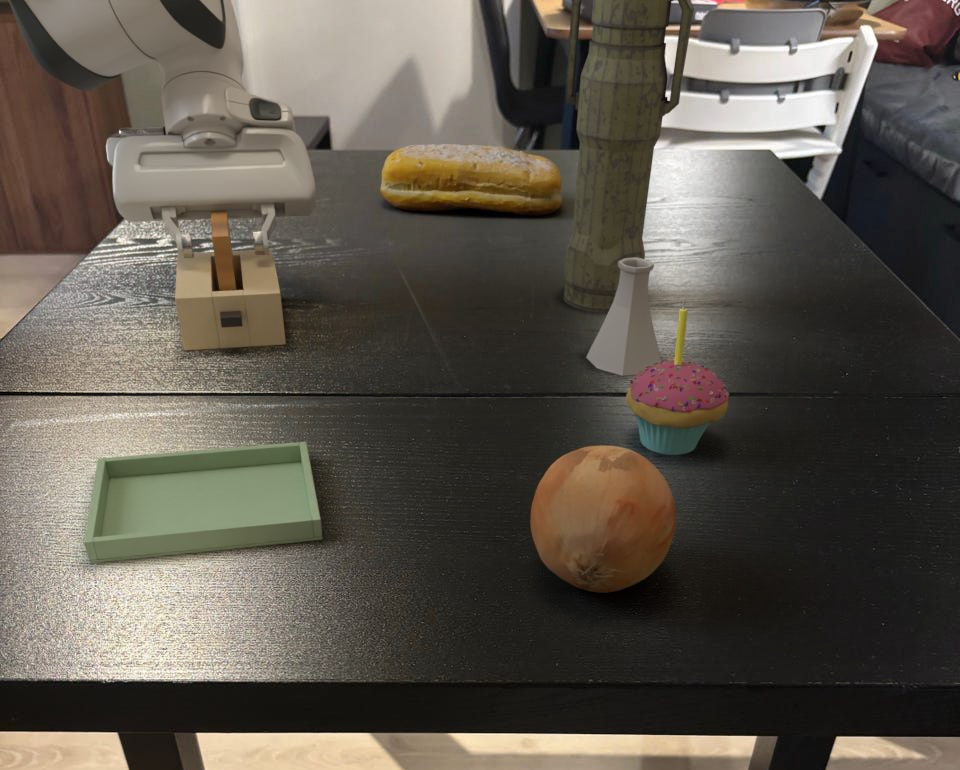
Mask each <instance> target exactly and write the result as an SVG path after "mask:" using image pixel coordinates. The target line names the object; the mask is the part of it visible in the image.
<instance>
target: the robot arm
mask: <svg viewBox="0 0 960 770" xmlns="http://www.w3.org/2000/svg"><path fill="white" fill-rule="evenodd" d="M7 1H8V3H9V5H10V8H11V10H12V13H13V15H14V18H15V21H16V23H17V25H18V28H19V31H20V33H21V36H22V38H23V40H24V42H25V45H26V46H27V48H28V50H29V52H30V53H31V56H32V57H33V59H34V60H35V61H36V63H37V64H38V66H39V67H40V68H41V69H43V70H44V71H45V72H46V73H47V74H49V75H50V76H51V77H53V79H56V80H58V81H60V82H61V83H63V84H65V85H67V86H69V87H72V88H73V89H77V90H79V91H82V92H92V91H94V90H96V89H98V88H99V87H101V86H103V85H105V84H107V83H109V82H111V81H112V80H114V79H116V78H118V77H119V76H121V74H123V73H126V72H129V71H131V70H133V69H136V68H138V67H141V66H143V65H146V64H148V63H151V62H154V61H155V62H156V63H157V66H158V69H159V71H160V73H161V76H162V85H161V89H160V97H161V107H162V114H163V123H164V124H163V125H164V126H158V127H157V126H155V127H153V126H152V127H151V126H150V127H143V128H142V127H141V128H133V127H122V128H119V130H118V132H115V133H113V134H111V135H110V136H109V137H108V138H107V139H106V143H105V150H106V161H107V162H108V165H109V166H110V168H112V174H111V175H112V177H111V179H112V183H111V184H112V197H113V202H114V204H115V207H116V210H117V212H118V214H119V215H120V216H121V217H122V218H123V219H124V220H125V221H127V222H129V223H136V222H137V223H139V222H140V223H141V222H143V223H144V222H163V225H164V230H165V231H166V233H168V235H169V236H170V237H171V238H172V240H173V241H174V242H175V243H176V249H177V254H179V258H194V253H195V252H194V245H193V240H192V236H191V235H192V234H189V233H188V234H187V233H186V234H185V233H182V232H181V230H180V229H179V228H180V223H179V221H196V220H197V221H200V220H211V211H221V210H226V211H227V216H228V220H229V219H254V218H255V219H256V218H261V221H262V226H261V229H260V231H252V238H253V239H252V240H253V247H254V249H253V250H255V255H269V249H270V247H269V246H270V245H269V240H270V238H271V236H272V235H273V232H274V230H275V228H276V227H277V218H280V217H282V218H284V217H306V216H310V215H311V214H312V213H313V211H314V210H315V209H316V207H317V189H316V182H315V177H314V172H313V168H312V167H313V166H312V164H311V160H310V157H309V154H308V150H307V147H306V145H305V142H304V140H303V139H302V138H301V136H300V135H299V134H298V133H296V126H295V118H294V114H293V110H292V108H291V107H290V105H288V104H286V103H283V102H281V101H277V100H272V99H269V98H265V97H262V96H259V95H256V94H253V93H251V92H248V91H247V89H246V87H245V84H244V81H243V74H244V65H245V63H244V62H245V61H244V53H243V45H242V40H241V35H240V30H239V24H238V21H237V17H236V12H235V8H234V5H233V1H232V0H7Z"/></svg>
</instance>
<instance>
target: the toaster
mask: <svg viewBox="0 0 960 770" xmlns="http://www.w3.org/2000/svg"><path fill="white" fill-rule="evenodd" d="M232 252H233V259H234V267H235V274H236V281H237V289H238V290H231V291H220V289H219V282H218V276H217V269H216V262H215V255H214V251H202V252H194V258H179V254H178V253H177V255H176V256H177V257H176V272H175V273H176V274H175V288H174V289H175V290H174V291H175V292H174V302H175V307H176V308H175V309H176V313H177V318H178V324H179V329H180V335H181V341H182V347H183V350H184V352H198V351H212V350H213V351H214V350H229V349H231V350H232V349H244V348H245V349H246V348H261V347H276V346H286V345H287V342H286V341H287V340H286V333H285V324H284V323H285V322H284V314H283V304H282V294H281V289H280V285H279V279H278V274H277V269H276V263H275V257H274V252H273V249H270V248H269V255H255V249H247V250H232Z"/></svg>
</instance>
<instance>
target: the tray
mask: <svg viewBox="0 0 960 770" xmlns="http://www.w3.org/2000/svg"><path fill="white" fill-rule="evenodd" d="M323 539H324V538H323V528H322V518H321V513H320V508H319V503H318V497H317V493H316V486H315V481H314V477H313V471H312V464H311V459H310V454H309V449H308V444H307V441H296V442H282V443H281V442H280V443H271V444H269V443H268V444H260V445H258V444H257V445H249V446H248V445H245V446H235V447H234V446H233V447H222V448H210V449H198V450H197V449H196V450H185V451H172V452H162V453H149V454H137V455H136V454H135V455H126V456H125V455H123V456H112V457H101V458H98V459H97V464H96V470H95V476H94V481H93V486H92V493H91V498H90V505H89V510H88V516H87V522H86V528H85V535H84V540H83V546H84V549H85V552H86V555H87V560H88V563H89V564H96V563H106V562H114V561H115V562H116V561H117V562H118V561H126V560H135V559H145V558H154V557H164V556H174V555H184V554H194V553H195V554H196V553H203V552H205V553H206V552H215V551H225V550H233V549H243V548H253V547H263V546H273V545H281V544H282V545H283V544H291V543H292V544H293V543H302V542H312V541H322V540H323Z"/></svg>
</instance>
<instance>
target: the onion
mask: <svg viewBox="0 0 960 770" xmlns="http://www.w3.org/2000/svg"><path fill="white" fill-rule="evenodd" d="M676 516H677V515H676V505H675V500H674V495H673V493H672V490H671V488H670V486H669V483H668V481H667V479H665V476H664V475H663V474H662V473H661V472H660V470H659V469H658V468H657V467H656V466H655V465H654V464H653V463H652V462H651V461H650V460H648V459H647V458H646V457H645V456H643V455H641V454H639V453H638V452H636V451H634V450H631V449H629V448H626V447H623V446H622V447H621V446H616V445H589V446H584V447H581V448H578V449H575V450H572V451H570V452H568V453H565V454H562V456H560V457H559V458H557V459H556V460H555V461H554V462H553V463H552V464H550V466H549V467H548V468H547V470H546V471H545V473H544V475H543V476H542V477H541V479H540V480H539V482H538V484H537V487H536V489H535V492H534V496H533V499H532V502H531V507H530V520H529V522H530V531H531V536H532V540H533V543H534V545H535V548H536V550H537V553H538V555H539V558H540V561H542V563H543V564H544V565H545V567H546V568H547V569H548V570H549V571H551V572H552V573H553V574H554V575H555V576H557V577H558V578H559V579H561V580H563V581H564V582H566V583H568V584H569V585H571V586H573V587H575V588H577V589H580V590H584V591H588V592H590V593H591V592H592V593H602V594H603V593H604V594H605V593H606V594H607V593H608V594H609V593H614V592H618V591H621V590H624V589H627V588H630V587H632V586H634V585H636V584H638V583H640V582H641V581H643V580H645V579H647V578H648V577H650V575H652V574H653V573H654V572H655V571H656V570H657V569H658V567H660V566H661V565H662V563H663V561H665V559H666V556H667V555H668V553H669V551H670V547H671V544H672V541H673V539H674V535H675V532H676V526H677V519H676V518H677V517H676Z"/></svg>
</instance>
